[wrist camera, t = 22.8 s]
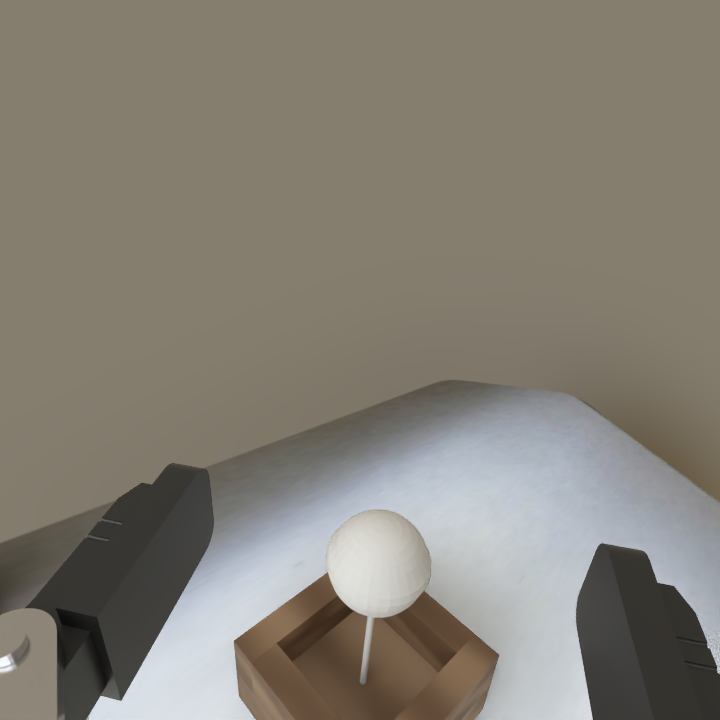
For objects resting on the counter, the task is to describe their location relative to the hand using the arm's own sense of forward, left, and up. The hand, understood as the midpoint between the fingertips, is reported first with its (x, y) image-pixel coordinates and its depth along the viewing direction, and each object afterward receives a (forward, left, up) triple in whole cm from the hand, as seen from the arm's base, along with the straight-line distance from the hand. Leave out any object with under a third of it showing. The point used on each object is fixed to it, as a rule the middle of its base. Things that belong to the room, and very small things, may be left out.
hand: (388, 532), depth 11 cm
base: (-10, -9, -32) cm, 35 cm away
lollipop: (-10, -9, -29) cm, 32 cm away
